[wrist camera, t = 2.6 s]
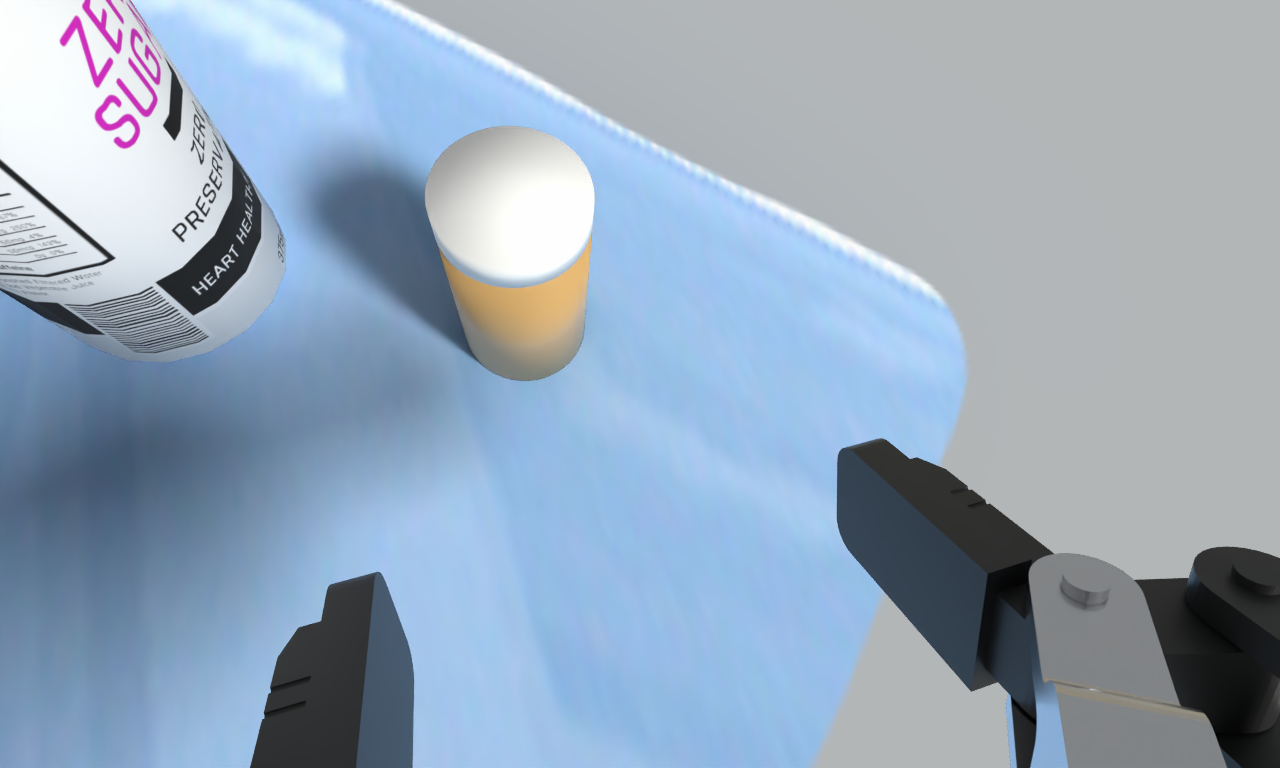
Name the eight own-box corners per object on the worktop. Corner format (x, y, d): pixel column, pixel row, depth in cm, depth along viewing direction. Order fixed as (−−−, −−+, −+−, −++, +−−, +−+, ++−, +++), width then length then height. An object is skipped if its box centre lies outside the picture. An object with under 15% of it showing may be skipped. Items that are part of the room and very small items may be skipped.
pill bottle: (443, 350, 28) (392, 223, 19) (500, 256, 29) (476, 102, 21) (552, 400, 27) (548, 294, 19) (603, 302, 29) (621, 166, 21)
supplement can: (30, 254, 27) (-539, -157, 13) (228, 154, 30) (-71, -282, 16) (131, 411, 25) (-394, 134, 11) (333, 291, 28) (104, -57, 14)
